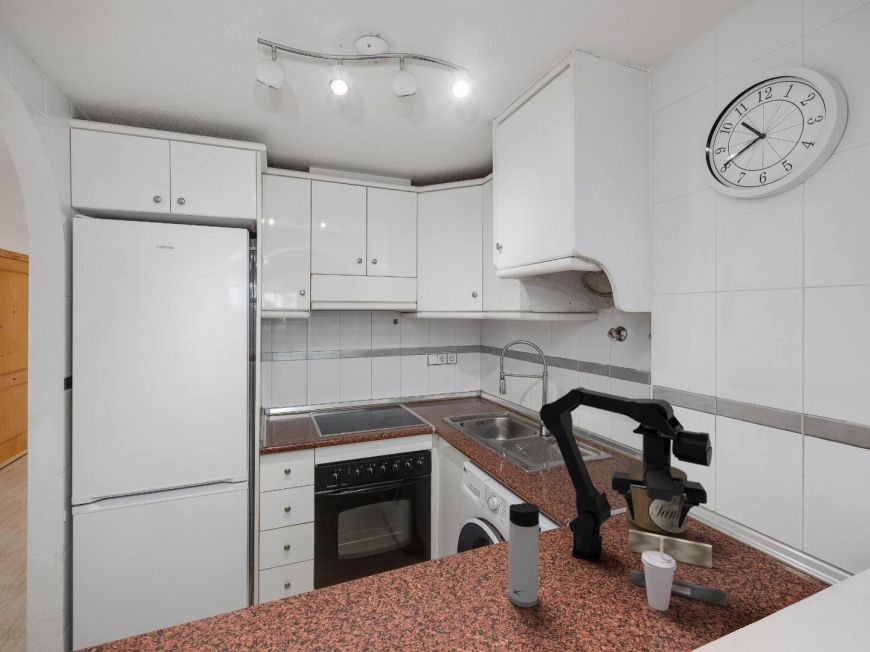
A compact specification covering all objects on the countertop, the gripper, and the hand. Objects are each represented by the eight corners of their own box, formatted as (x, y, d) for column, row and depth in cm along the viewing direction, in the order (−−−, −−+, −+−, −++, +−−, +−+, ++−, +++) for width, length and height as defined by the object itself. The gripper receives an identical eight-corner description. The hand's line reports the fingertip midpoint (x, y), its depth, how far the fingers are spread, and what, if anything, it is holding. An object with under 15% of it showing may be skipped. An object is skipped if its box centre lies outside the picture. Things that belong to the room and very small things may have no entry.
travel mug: (517, 611, 83) (518, 513, 82) (503, 591, 89) (504, 499, 89) (544, 606, 84) (545, 510, 84) (529, 586, 91) (530, 496, 90)
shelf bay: (630, 583, 92) (631, 561, 92) (628, 548, 106) (629, 529, 106) (726, 607, 85) (727, 583, 84) (710, 565, 99) (710, 545, 99)
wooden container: (664, 555, 103) (665, 468, 103) (614, 528, 117) (615, 452, 116) (698, 541, 110) (699, 460, 110) (648, 517, 123) (649, 445, 123)
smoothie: (680, 617, 81) (681, 548, 81) (646, 612, 83) (647, 544, 82) (669, 596, 88) (670, 531, 87) (637, 592, 89) (637, 528, 89)
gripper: (612, 460, 89) (611, 532, 89) (713, 473, 82) (712, 551, 82) (611, 446, 99) (611, 510, 99) (701, 457, 92) (700, 525, 92)
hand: (655, 523), depth 93 cm, fingers open, 9 cm apart
